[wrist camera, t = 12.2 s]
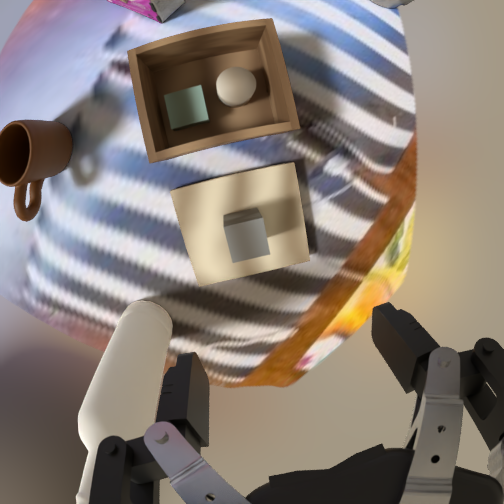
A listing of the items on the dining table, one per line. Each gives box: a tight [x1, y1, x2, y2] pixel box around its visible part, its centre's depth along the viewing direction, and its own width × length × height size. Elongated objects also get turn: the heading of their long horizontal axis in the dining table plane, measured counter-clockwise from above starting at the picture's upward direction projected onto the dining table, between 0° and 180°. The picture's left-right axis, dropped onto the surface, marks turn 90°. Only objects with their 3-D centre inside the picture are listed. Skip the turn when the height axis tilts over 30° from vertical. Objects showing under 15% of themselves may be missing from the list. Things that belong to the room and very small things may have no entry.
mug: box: [0, 120, 73, 222], centre depth 23 cm, size 12×8×9 cm, turn 179°
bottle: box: [76, 300, 173, 504], centre depth 24 cm, size 8×8×30 cm
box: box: [127, 18, 300, 163], centre depth 24 cm, size 14×12×8 cm
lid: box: [170, 162, 310, 287], centre depth 31 cm, size 15×13×7 cm
